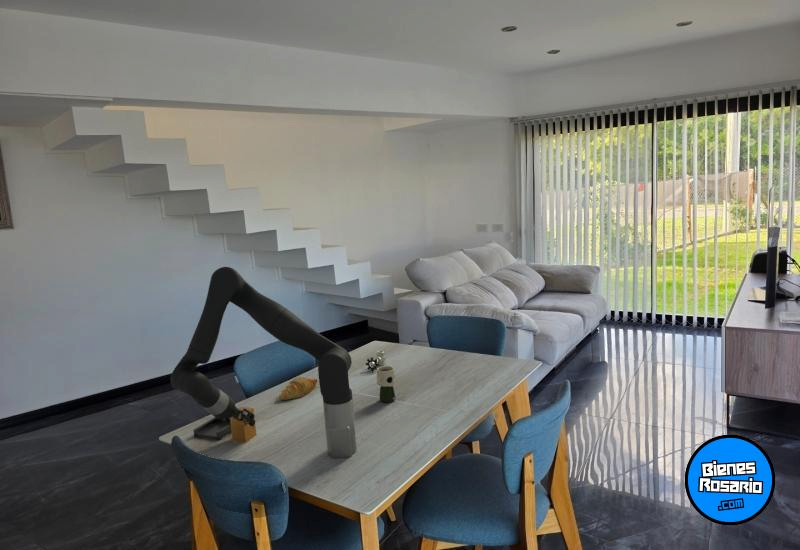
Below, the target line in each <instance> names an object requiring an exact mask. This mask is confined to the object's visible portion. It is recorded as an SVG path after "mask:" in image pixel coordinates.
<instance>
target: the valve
mask: <svg viewBox="0 0 800 550" xmlns="http://www.w3.org/2000/svg"><path fill="white" fill-rule="evenodd" d="M385 355H386V354H385V351H384V350H378V351H376V358H374V357H370V358H367V359H366V363H365V366H368V367H367V370H371V372H374V371H377V368H378V367H382V366H386V356H385Z"/></svg>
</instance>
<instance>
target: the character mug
mask: <svg viewBox="0 0 800 550" xmlns="http://www.w3.org/2000/svg"><path fill="white" fill-rule="evenodd" d="M395 376H396V371H395V367H394V366H392V365H384V366H378V367H377V370H376V383H377V386H379V387H380V388H379V400H380V401H381V402H384V403H387V402H388V403H389V402H390V403H391V402H393V401H394V400H396V393H395V388H394V385H395V384H396V377H395Z"/></svg>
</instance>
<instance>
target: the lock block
mask: <svg viewBox="0 0 800 550" xmlns="http://www.w3.org/2000/svg"><path fill="white" fill-rule="evenodd" d="M237 408H238V409H240V410H243V409H247V410H248V411H250V412H251V413H252V414H254V415H255V408H254V407H247V406H239V407H237ZM255 417H256V416H255ZM255 417H254V420H255V421H256V418H255ZM238 418H239V419H240V418H241V415H239V417H238ZM245 420H246V419H245ZM230 423H231V439H232V442H234V441H236V442H235V443H243V442H244V443H245V444H247V443H246V442H249V441H251V440H253V438H255V437H256V436H257V429H256V423H255V424H254V426H250V425H249V424H247V423H246V422H244V421H241V422H239V421H237V420H234V419H230ZM254 436H255V437H254ZM250 439H251V440H250Z"/></svg>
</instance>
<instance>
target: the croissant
mask: <svg viewBox="0 0 800 550" xmlns="http://www.w3.org/2000/svg"><path fill="white" fill-rule="evenodd" d="M317 383H318V379H317V378H316V379H315V378H306V377H296V378H294V379H291V380H290V382H289V383H288V384H287V385H286V387H285V389H283V390H282V391H281V394H279V395H278V397H277V398H278V399H279V400H280V401H287V400H293V399H298V398H302V397H304V396H306V395H308V394H310V392H311V391H312V390H314V388H315V387H316V386H317ZM301 396H302V397H301Z"/></svg>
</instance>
